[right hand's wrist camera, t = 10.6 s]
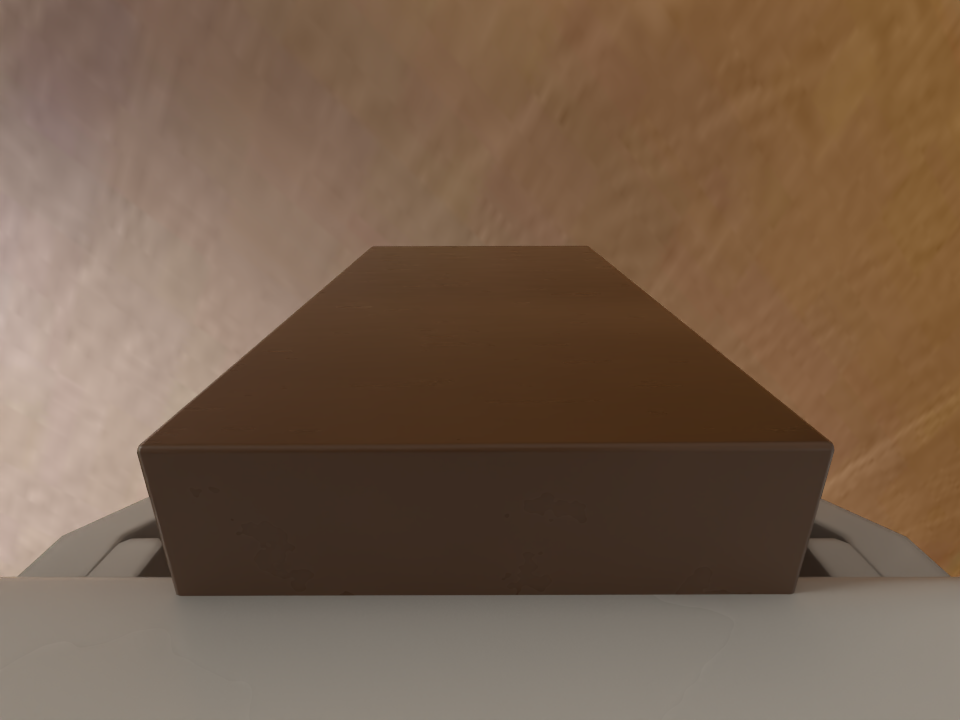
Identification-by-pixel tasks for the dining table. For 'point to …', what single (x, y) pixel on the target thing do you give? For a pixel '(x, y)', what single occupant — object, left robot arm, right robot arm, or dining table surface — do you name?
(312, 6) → the dining table surface
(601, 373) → the box
